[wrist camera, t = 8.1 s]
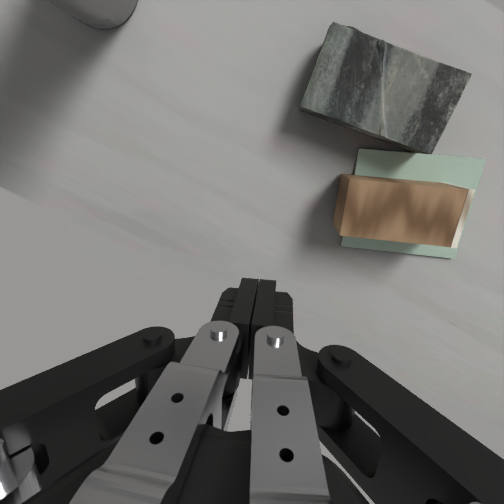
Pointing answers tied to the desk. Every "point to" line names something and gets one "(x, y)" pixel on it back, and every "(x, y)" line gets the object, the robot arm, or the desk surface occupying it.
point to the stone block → (382, 90)
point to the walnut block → (401, 210)
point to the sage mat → (417, 169)
